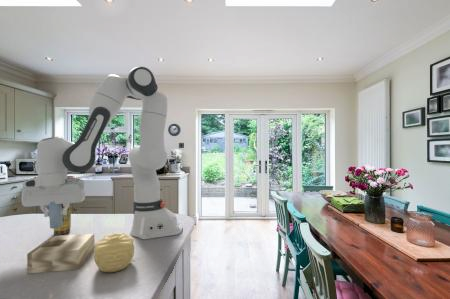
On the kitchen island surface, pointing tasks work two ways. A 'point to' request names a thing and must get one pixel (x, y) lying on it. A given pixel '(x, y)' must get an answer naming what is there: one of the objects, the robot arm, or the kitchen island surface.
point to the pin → (55, 215)
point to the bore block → (60, 253)
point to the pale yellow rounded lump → (114, 252)
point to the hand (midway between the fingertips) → (55, 215)
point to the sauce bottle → (64, 223)
